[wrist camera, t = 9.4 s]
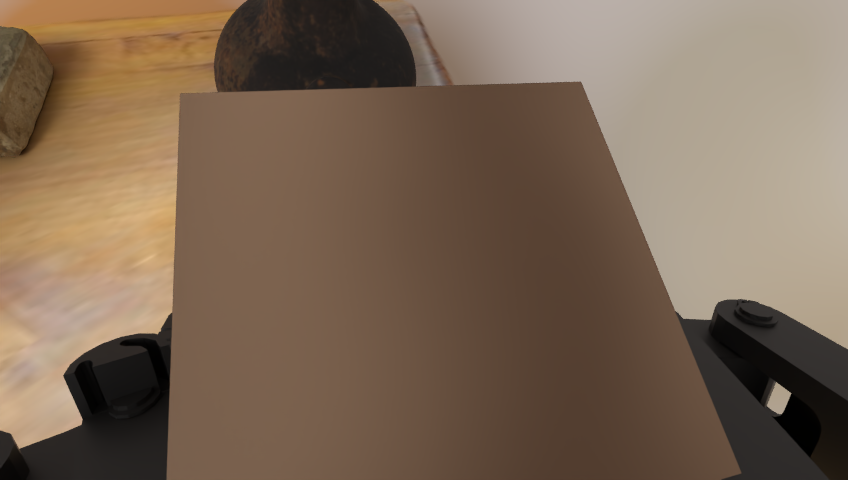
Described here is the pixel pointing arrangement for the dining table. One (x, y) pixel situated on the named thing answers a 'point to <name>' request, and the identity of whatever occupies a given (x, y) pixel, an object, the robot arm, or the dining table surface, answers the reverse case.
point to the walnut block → (421, 295)
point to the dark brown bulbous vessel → (312, 47)
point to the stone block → (20, 88)
